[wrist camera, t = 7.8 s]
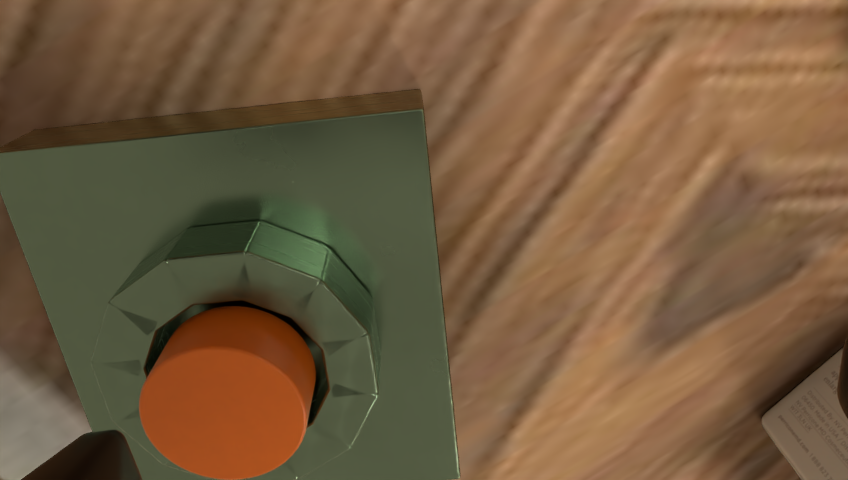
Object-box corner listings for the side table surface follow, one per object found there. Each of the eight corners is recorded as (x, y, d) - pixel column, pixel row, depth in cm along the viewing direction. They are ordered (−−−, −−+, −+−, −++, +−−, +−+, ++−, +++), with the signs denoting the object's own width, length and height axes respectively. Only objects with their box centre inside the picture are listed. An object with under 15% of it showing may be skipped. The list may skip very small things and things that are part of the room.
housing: (33, 129, 17) (-67, 180, 13) (420, 87, 17) (426, 128, 13) (148, 459, 22) (97, 565, 18) (455, 429, 22) (466, 528, 18)
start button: (146, 313, 15) (116, 356, 14) (302, 297, 15) (291, 339, 14) (184, 436, 17) (162, 488, 15) (327, 421, 17) (319, 473, 15)
